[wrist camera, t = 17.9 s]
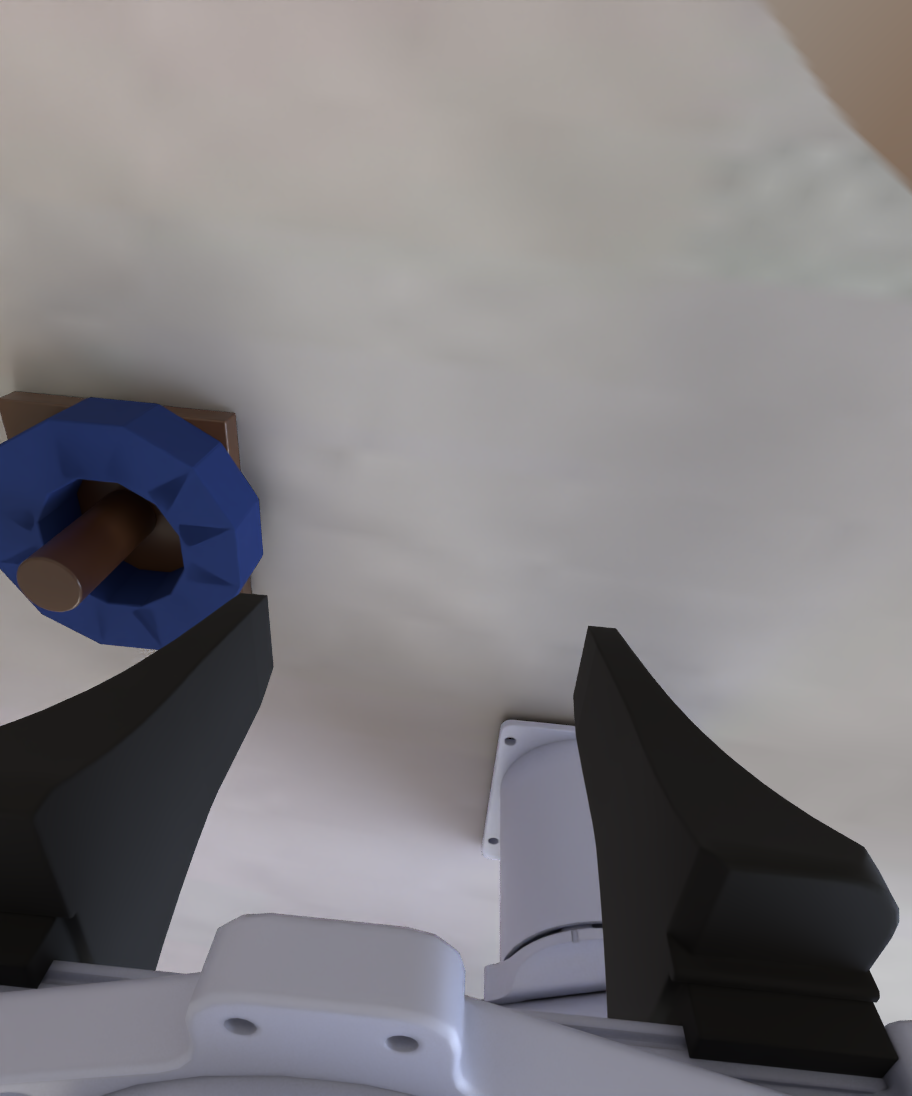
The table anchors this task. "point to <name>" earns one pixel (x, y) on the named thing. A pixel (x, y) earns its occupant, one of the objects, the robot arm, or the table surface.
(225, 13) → the table surface
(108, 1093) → the robot arm
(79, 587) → the stand
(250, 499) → the ring
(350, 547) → the table surface
